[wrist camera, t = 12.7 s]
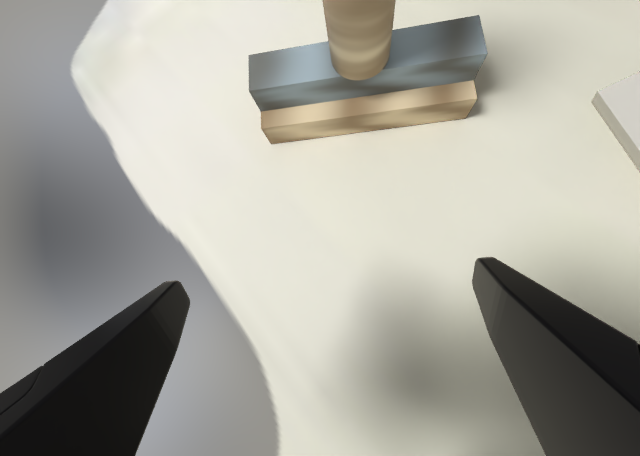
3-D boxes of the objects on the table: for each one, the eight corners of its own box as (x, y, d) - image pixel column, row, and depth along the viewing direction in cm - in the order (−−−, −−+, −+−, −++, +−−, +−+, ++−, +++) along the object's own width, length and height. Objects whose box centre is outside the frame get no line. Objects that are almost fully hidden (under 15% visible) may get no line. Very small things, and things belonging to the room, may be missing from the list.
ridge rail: (453, 54, 25) (475, -4, 20) (465, 118, 23) (492, 73, 19) (269, 83, 27) (248, 38, 22) (271, 143, 26) (249, 109, 21)
